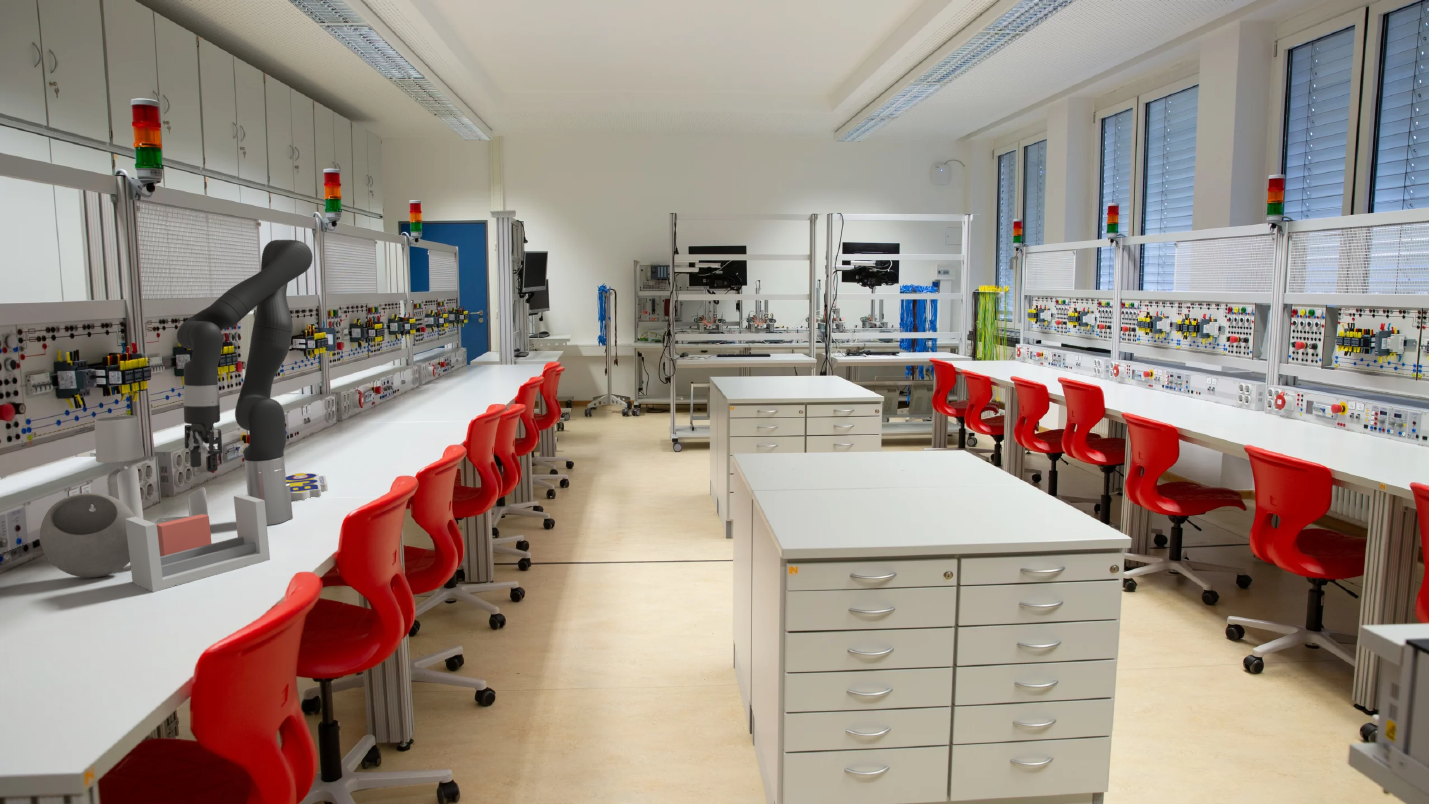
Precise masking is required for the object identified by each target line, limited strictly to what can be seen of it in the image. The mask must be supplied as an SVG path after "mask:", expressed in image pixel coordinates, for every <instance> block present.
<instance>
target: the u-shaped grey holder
mask: <svg viewBox="0 0 1429 804" xmlns="http://www.w3.org/2000/svg"><path fill="white" fill-rule="evenodd" d="M233 503H234V512H235V513H234V514H235V525H236V533H237V534H236V535H237V537H234V538H229V539H227V540H226V539H225V540H221V541H218V542H215V543H212V544H209V545H205V546H201V547H197V548H193V549H189V550H185V551H181V552H177V553H173V554H169V555H165V556H161V557H160V550H159V542H158V533H157V524H155V522H152V521H149V520H146V519H144V518H143V519H141V518H138V517H131V518H127V519H125V523H126V531H127V539H128V548H129V556H130V562H129V563H130V570H131V571H130V574H131V581H132V583H133V584H135V585H137V586H139V587H141V588H143V589H146V590H147V589H148V591H150V592H152V593H155V591H156V592H159V591H162V589H163V590H166V589H169V588H173V587H176V586H175V585H177V586H180V585H179V584H181V585H183V584H188V583H191V582H195V581H199V580H202V579H205V578H206V579H207V578H210V577H213V576H217V575H220V574H223V573H227V572H229V571H234V570H238V569H242V568H244V567H248V566H252V565H256V564H259V563H263V562H266V561H270V560H271V558H270V557H271V556H270V547H269V546H270V545H269V543H270V542H269V536H268V534H269V533H268V525H267V522H266V511H265V500H262V499H258V498H255V497H251V496H248V494H244V493H242V494H236V495H233ZM158 590H159V591H158Z"/></svg>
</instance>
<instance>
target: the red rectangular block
mask: <svg viewBox="0 0 1429 804" xmlns="http://www.w3.org/2000/svg"><path fill="white" fill-rule="evenodd" d="M157 533H158V542H159V550H160V557H161V556H165V555H169V554H173V553H177V552H181V551H185V550H189V549H193V548H197V547H201V546H205V545H209V544H213V543H212V534H211V524H210V516H209V515H208V516H207V515H204V514H200V515H196V516H191V517H187V518H182V519H178V520H173V521H169V522H164V523H160V524H157Z"/></svg>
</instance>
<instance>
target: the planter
mask: <svg viewBox="0 0 1429 804" xmlns="http://www.w3.org/2000/svg"><path fill="white" fill-rule="evenodd" d="M92 505H93V508H94V509H95V510H92ZM131 517H136V516H135V515H134V513H133V512H132V511H131V509H130V508H129V507H128V506H127V505H125V504H124V503H123V502H122V501H120V500H118V499H116V498H114V497H112V496H109V495H108V494H105V493H101V492H83V493H75V494H72V495H69V496H66V497H63V498H62V499H60V500H58V501H57V502H55V503H54V504H53V505H52V506H51V507H50V508H49V509H48V510H47V512H46V514H45V516H44V517H43V520H42V522H41V524H40V529H39V541H40V545H41V548H42V550H43V553H44V555H45V556H46V558H47V559H48V560H49V562H50V563H51V564H52V565H53V566H54V567H55V568H57V569H59V570H60V571H61V572H63V573H66V574H68V575H70V576H75V577H79V578H87V579H88V578H91V579H92V578H101V577H106V576H109V575H112V574H114V573H116V572H119V571H120V570H122V569H123V568H125V567H126V566H128V564H129V563H130V556H129V548H128V539H127V531H126V523H125V519H127V518H131Z"/></svg>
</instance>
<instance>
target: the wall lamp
mask: <svg viewBox="0 0 1429 804" xmlns="http://www.w3.org/2000/svg"><path fill="white" fill-rule="evenodd" d="M138 421H139V420H138V417H137V415H133V414H132V415H131V414H130V415H127V414H126V415H114V416H113V415H112V416H103V417H99V418H95V419H94V440H95V441H94V442H95V443H94V444H95V461H96V463H101V464H105V463H106V464H111V463H112V464H113V463H117V465H118V468H117V469H114V470H112V471H111V472H109V473H108V474H107V477H106V486H107V495H109V496H112V497H114V498H116V499H118V500H120V501H122V502H123V503H124V504H125V505H127V506H128V507H129V508H130V509H131V511H132V512H133V513H134V515H135V516H136V517H138V518H141V519H144V512H143V502H142V495H141V486H140V478H139V477H140V476H139V471H138V470H139V469H138V467H137V466H136V465H132V466H130V467H128V466H126V465H125V462H129V461H134V460H135V461H136V460H139V459H142V458H144V457H145V451H144V446H143V442H142V440H143V439H142V436H141V431H140V426H139V422H138ZM187 506H188V509H187V510H188V515H187V516H186V515H185V516H184V515H183V516H169V517H168V516H166V517H160V518H157V519H156V520H155V522H154V523H155V524H160V523H164V522H169V521H173V520H178V519H182V518H187V517H191V516H196V515H200V514H204V515H207V516H209V510H208V503H207V492H206V488H205V487H204V486H201V487H199V488H198V489H196V490H193V491H192V492H190V493H189V495H188V497H187Z"/></svg>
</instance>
